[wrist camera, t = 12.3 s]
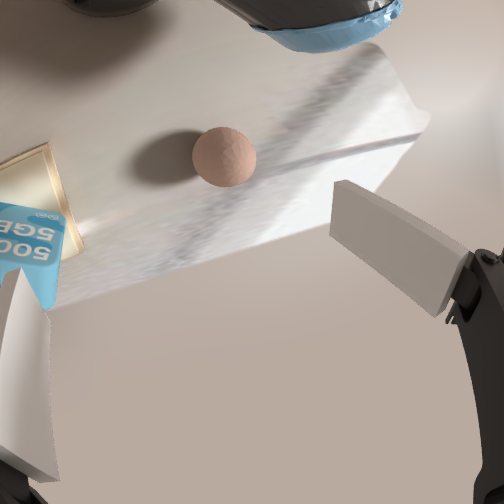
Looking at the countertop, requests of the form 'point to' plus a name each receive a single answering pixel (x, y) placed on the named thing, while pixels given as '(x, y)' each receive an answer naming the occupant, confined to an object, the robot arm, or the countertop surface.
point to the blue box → (32, 247)
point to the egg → (224, 157)
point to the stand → (39, 191)
